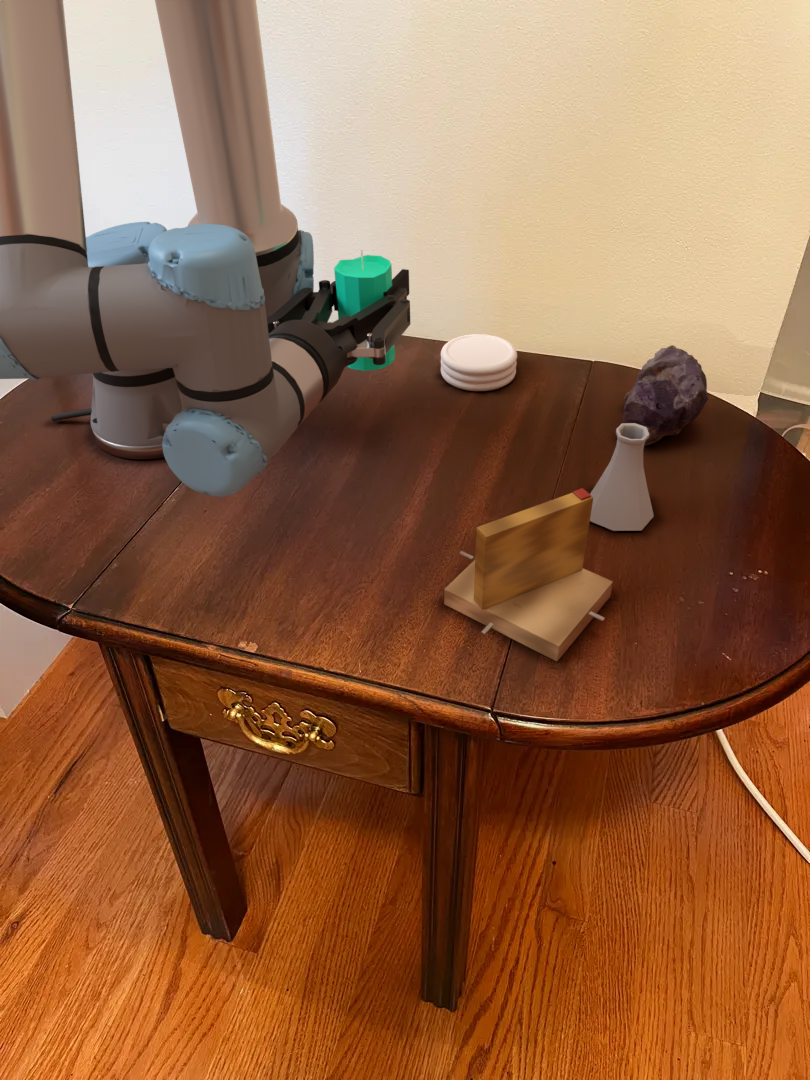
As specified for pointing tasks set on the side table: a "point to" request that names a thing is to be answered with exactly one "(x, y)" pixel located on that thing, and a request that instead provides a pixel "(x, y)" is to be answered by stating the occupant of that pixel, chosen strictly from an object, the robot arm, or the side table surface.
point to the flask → (624, 484)
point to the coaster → (478, 362)
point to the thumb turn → (531, 548)
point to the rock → (666, 393)
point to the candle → (363, 294)
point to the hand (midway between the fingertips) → (382, 278)
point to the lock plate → (536, 609)
